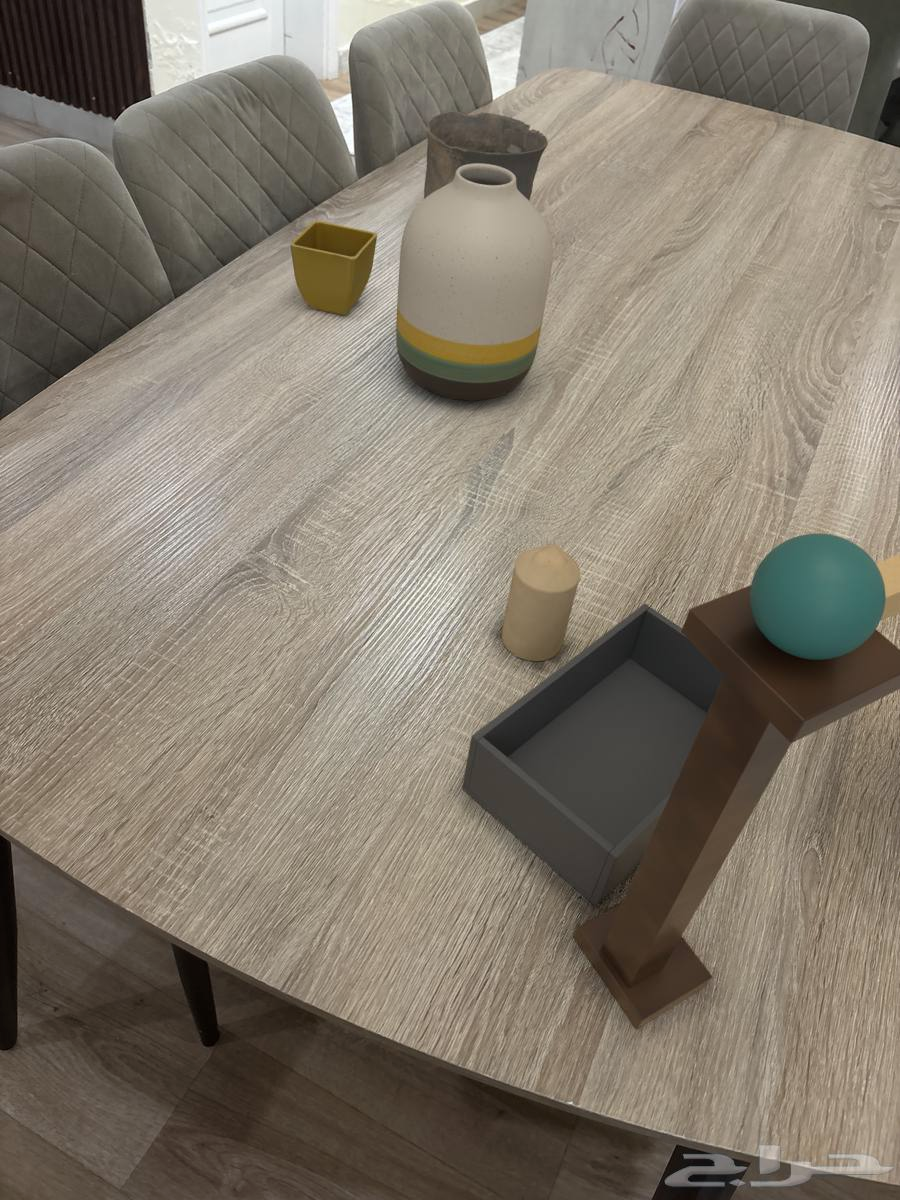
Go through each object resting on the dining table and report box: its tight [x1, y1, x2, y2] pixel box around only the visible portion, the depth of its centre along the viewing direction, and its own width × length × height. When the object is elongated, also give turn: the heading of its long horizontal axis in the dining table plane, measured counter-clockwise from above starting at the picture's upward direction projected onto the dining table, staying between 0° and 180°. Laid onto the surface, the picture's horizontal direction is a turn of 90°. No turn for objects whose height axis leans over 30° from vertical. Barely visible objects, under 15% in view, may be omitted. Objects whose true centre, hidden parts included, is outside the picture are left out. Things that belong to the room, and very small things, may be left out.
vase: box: [395, 163, 554, 401], centre depth 107 cm, size 17×17×24 cm
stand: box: [573, 584, 900, 1030], centre depth 52 cm, size 7×7×32 cm
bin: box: [461, 603, 724, 908], centre depth 72 cm, size 13×21×7 cm, turn 135°
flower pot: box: [289, 220, 378, 316], centre depth 122 cm, size 9×9×9 cm
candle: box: [501, 544, 581, 662], centre depth 80 cm, size 6×6×10 cm
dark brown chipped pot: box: [423, 111, 549, 202], centre depth 140 cm, size 18×18×15 cm
